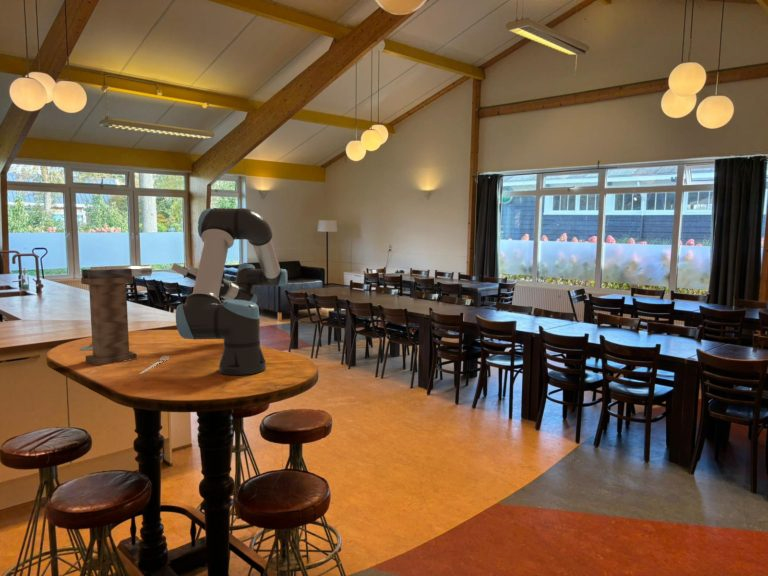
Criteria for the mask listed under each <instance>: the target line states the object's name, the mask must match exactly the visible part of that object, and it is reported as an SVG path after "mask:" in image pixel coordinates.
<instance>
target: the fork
mask: <svg viewBox="0 0 768 576" xmlns="http://www.w3.org/2000/svg"><path fill="white" fill-rule="evenodd" d="M169 357H170V355H168V356H167V355H162V356H161V357H160V359H159V360H161V361H162V360H165V361H166V360H168V361H169ZM161 361H160V362H158V361H156V362H155V363H153V364H152V365H150V366H149V367H147V368H145V369H144V370H143V371H140V372H139V375H142V374H144V373H146V372H148V371H150V370H152V369H153V368H155V367H157V366H158V365H160V364H159V363H162V362H163V361H162V362H161ZM157 364H158V365H157ZM156 365H157V366H156ZM154 366H155V367H154ZM152 367H153V368H152ZM151 368H152V369H151ZM149 369H150V370H149Z"/></svg>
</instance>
